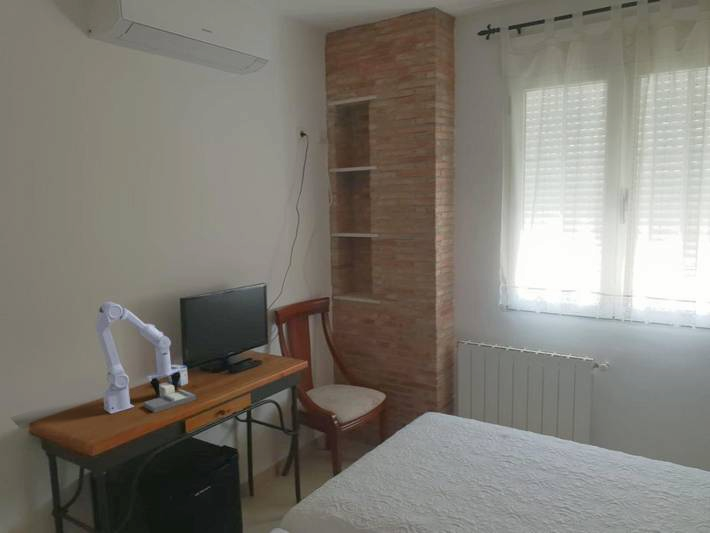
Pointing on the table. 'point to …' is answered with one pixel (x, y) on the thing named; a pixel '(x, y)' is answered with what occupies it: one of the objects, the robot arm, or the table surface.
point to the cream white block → (166, 389)
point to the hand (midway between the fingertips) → (166, 392)
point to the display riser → (169, 401)
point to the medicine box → (184, 377)
